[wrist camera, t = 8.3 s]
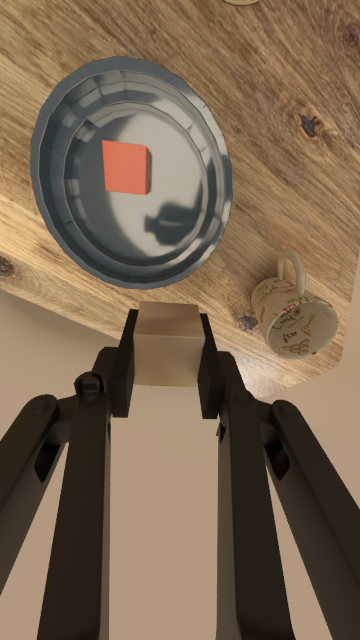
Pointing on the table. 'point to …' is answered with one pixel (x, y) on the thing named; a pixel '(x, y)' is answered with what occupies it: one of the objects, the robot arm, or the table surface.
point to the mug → (293, 313)
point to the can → (241, 2)
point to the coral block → (126, 167)
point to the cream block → (167, 344)
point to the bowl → (164, 173)
